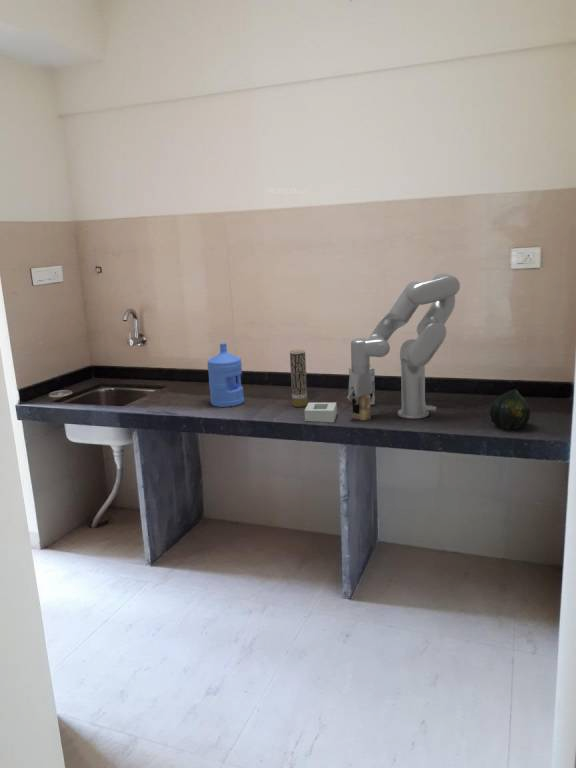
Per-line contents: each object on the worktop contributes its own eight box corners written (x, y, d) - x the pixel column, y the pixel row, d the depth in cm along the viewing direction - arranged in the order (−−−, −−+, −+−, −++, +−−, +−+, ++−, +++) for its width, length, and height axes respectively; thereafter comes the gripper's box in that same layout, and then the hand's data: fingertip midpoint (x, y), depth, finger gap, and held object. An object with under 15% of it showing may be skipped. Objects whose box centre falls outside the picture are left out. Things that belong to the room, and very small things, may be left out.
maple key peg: (359, 415, 267) (359, 392, 265) (370, 418, 263) (370, 395, 261) (353, 417, 265) (352, 394, 263) (363, 420, 260) (363, 397, 258)
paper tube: (289, 405, 288) (286, 351, 282) (300, 402, 292) (298, 349, 286) (299, 408, 283) (296, 353, 277) (310, 405, 287) (308, 350, 281)
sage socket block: (336, 413, 272) (336, 402, 270) (333, 422, 260) (333, 410, 259) (309, 413, 274) (308, 402, 273) (304, 422, 262) (304, 410, 261)
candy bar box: (375, 404, 283) (375, 368, 279) (368, 407, 279) (367, 370, 275) (357, 400, 291) (356, 365, 287) (349, 402, 288) (348, 367, 284)
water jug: (205, 407, 292) (200, 347, 285) (217, 398, 307) (212, 341, 300) (238, 408, 288) (233, 347, 281) (248, 398, 303) (244, 341, 296)
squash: (485, 418, 237) (514, 389, 233) (480, 408, 252) (507, 380, 248) (514, 443, 237) (543, 413, 234) (507, 431, 252) (534, 404, 248)
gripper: (368, 364, 267) (369, 405, 271) (339, 371, 256) (340, 414, 261) (381, 366, 261) (382, 408, 266) (352, 374, 251) (353, 417, 255)
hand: (361, 411), depth 263 cm, fingers open, 5 cm apart
